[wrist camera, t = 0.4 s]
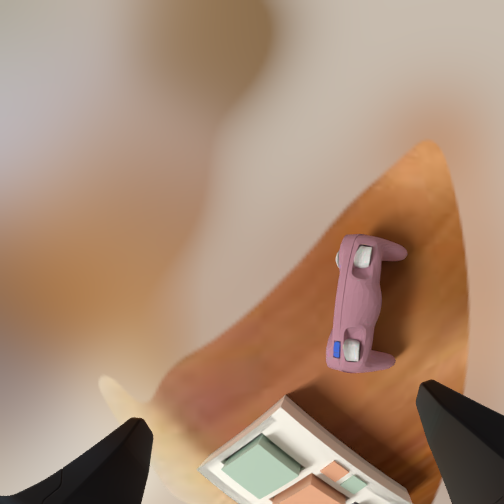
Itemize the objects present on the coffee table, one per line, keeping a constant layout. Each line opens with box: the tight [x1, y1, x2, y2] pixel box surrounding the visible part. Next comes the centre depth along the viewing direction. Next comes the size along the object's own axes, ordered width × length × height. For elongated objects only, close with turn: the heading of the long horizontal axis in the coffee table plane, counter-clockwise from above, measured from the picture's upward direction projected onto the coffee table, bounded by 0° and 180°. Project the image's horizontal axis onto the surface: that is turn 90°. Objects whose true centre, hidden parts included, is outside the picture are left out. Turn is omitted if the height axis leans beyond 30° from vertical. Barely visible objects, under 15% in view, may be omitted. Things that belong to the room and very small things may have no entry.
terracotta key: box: [272, 473, 346, 504], centre depth 15 cm, size 4×4×2 cm
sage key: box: [221, 433, 301, 499], centre depth 17 cm, size 4×4×2 cm
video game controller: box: [326, 234, 407, 373], centre depth 18 cm, size 10×5×7 cm, turn 172°
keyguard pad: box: [197, 395, 413, 504], centre depth 16 cm, size 17×10×3 cm, turn 47°
